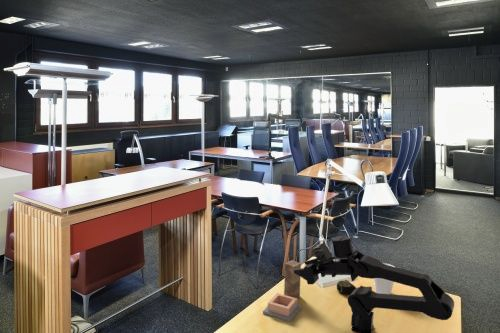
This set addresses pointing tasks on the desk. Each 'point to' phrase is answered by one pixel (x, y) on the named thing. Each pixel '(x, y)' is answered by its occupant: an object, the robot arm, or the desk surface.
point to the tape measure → (345, 287)
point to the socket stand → (282, 307)
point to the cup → (383, 285)
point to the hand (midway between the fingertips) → (299, 267)
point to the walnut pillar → (292, 279)
